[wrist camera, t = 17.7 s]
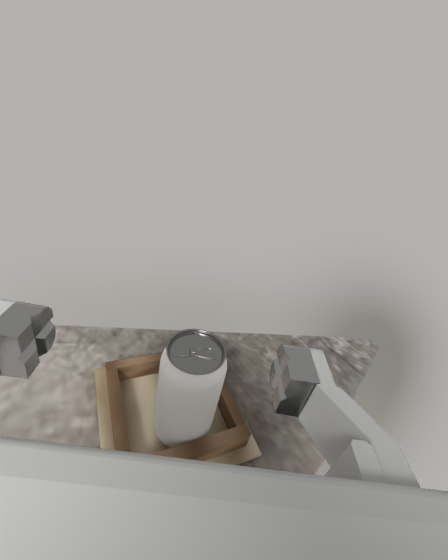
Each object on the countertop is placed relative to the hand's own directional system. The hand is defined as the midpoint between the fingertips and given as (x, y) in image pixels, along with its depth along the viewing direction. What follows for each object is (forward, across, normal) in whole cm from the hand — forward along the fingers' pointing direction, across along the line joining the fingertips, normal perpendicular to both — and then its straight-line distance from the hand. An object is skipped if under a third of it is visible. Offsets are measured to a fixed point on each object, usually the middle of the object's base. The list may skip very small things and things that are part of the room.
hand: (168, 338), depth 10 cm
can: (+12, -2, +24) cm, 27 cm away
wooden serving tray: (+13, 0, +25) cm, 28 cm away
